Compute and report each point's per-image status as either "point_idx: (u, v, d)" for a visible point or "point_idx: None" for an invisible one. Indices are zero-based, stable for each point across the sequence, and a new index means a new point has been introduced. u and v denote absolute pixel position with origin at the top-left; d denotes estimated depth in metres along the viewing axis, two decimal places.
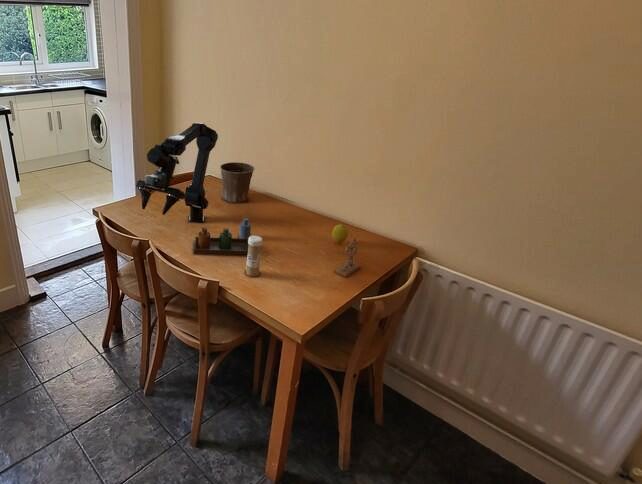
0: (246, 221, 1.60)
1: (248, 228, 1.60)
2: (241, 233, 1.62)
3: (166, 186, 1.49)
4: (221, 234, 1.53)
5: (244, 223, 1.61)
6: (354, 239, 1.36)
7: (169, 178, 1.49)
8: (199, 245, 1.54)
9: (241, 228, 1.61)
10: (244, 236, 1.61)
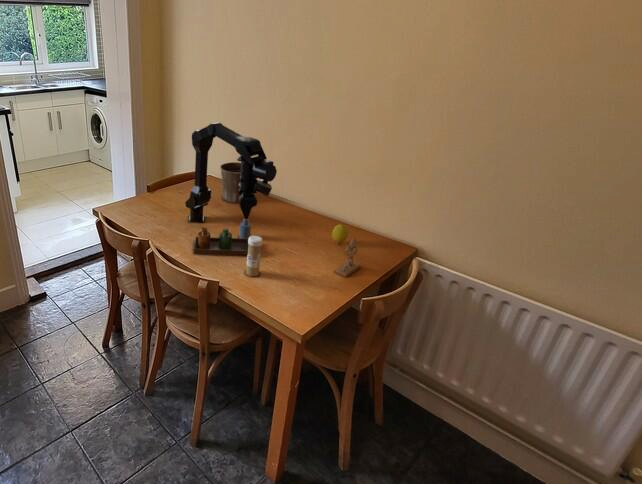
0: (246, 221, 1.60)
1: (248, 228, 1.60)
2: (241, 233, 1.62)
3: None
4: (221, 234, 1.53)
5: (244, 223, 1.61)
6: (354, 239, 1.36)
7: None
8: (199, 245, 1.54)
9: (241, 228, 1.61)
10: (244, 236, 1.61)
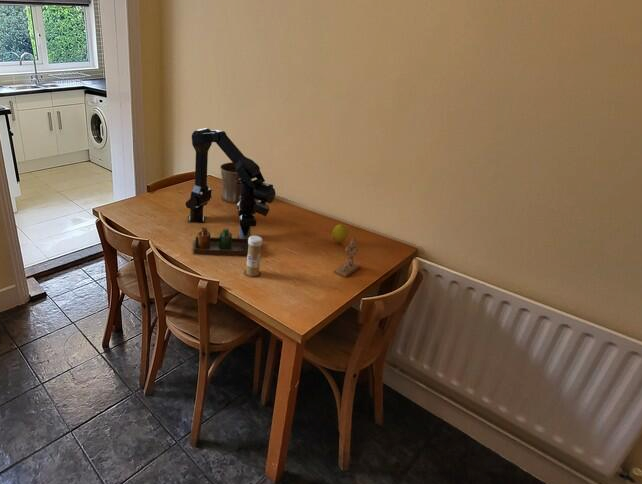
0: None
1: None
2: (241, 233, 1.62)
3: None
4: (221, 234, 1.53)
5: None
6: (354, 239, 1.36)
7: None
8: (199, 245, 1.54)
9: None
10: (244, 236, 1.61)
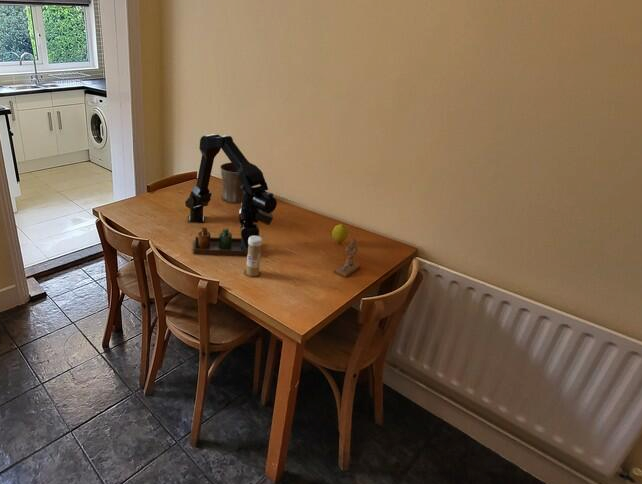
0: None
1: None
2: (243, 244, 1.53)
3: None
4: (221, 234, 1.53)
5: None
6: (354, 239, 1.36)
7: None
8: (199, 245, 1.54)
9: None
10: None
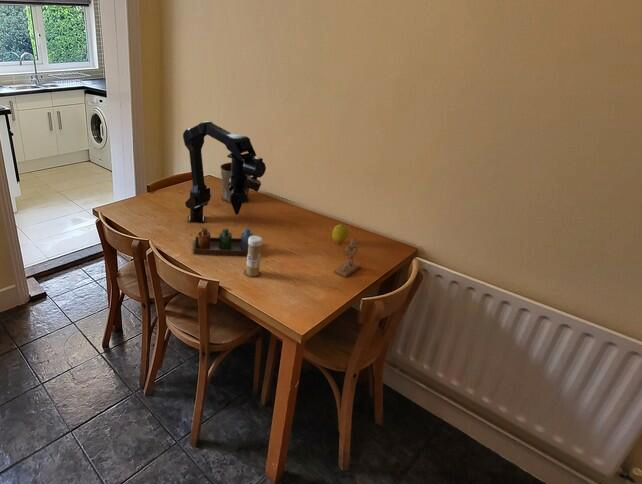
0: (248, 231, 1.51)
1: None
2: (243, 244, 1.53)
3: None
4: (221, 234, 1.53)
5: (246, 233, 1.51)
6: (354, 239, 1.36)
7: None
8: (199, 245, 1.54)
9: (243, 238, 1.52)
10: (246, 247, 1.52)
